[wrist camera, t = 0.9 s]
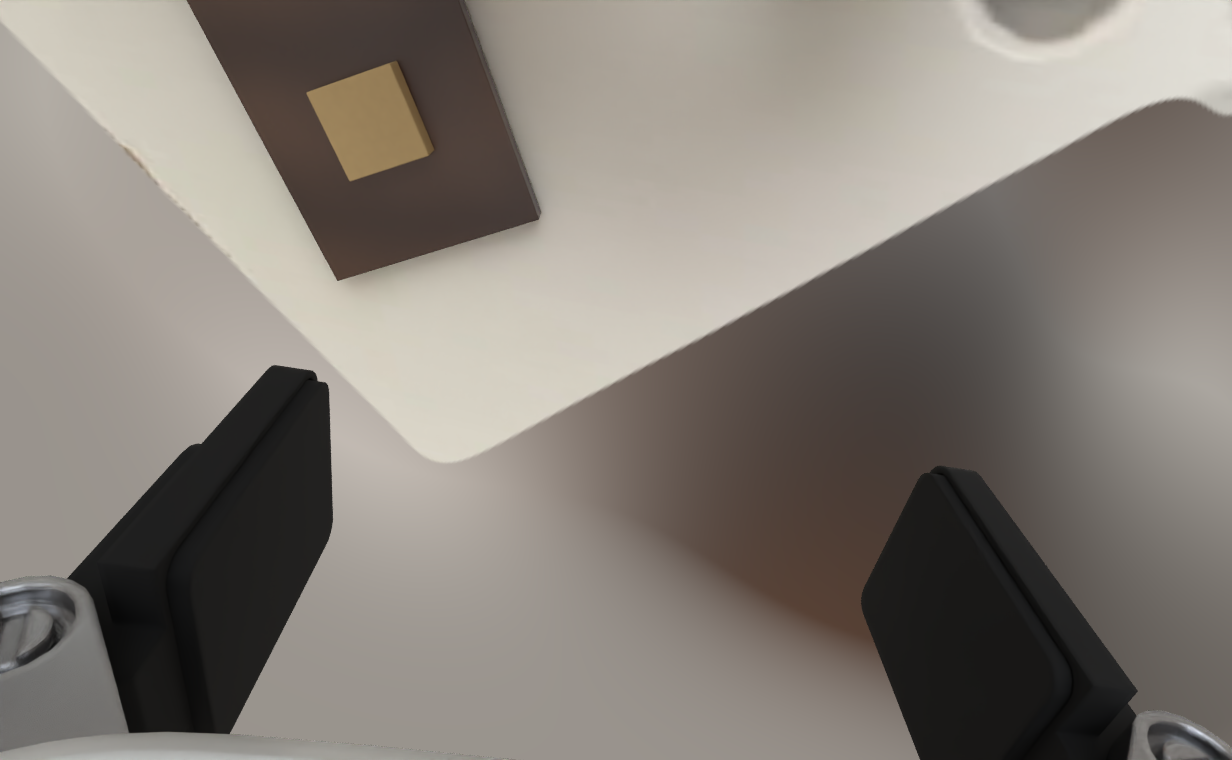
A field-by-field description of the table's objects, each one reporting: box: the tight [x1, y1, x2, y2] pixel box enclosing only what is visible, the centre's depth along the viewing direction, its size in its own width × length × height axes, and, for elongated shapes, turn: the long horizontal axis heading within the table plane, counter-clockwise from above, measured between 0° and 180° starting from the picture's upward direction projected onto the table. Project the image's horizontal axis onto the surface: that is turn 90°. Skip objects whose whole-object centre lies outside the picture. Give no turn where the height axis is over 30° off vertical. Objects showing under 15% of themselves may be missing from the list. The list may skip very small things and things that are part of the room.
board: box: [187, 0, 541, 281], centre depth 30 cm, size 21×11×1 cm, turn 17°
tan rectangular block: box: [307, 61, 434, 181], centre depth 31 cm, size 4×4×1 cm
